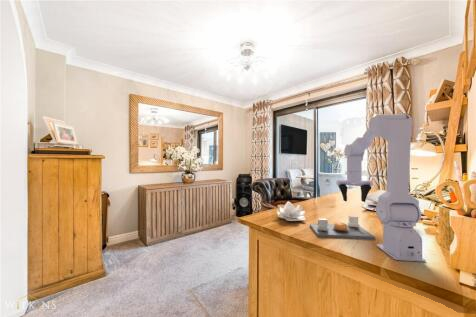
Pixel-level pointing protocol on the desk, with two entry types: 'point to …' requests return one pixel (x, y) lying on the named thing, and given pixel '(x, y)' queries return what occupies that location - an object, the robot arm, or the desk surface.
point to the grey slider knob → (322, 225)
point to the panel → (343, 232)
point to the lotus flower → (291, 212)
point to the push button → (340, 226)
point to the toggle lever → (353, 221)
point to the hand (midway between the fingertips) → (354, 201)
